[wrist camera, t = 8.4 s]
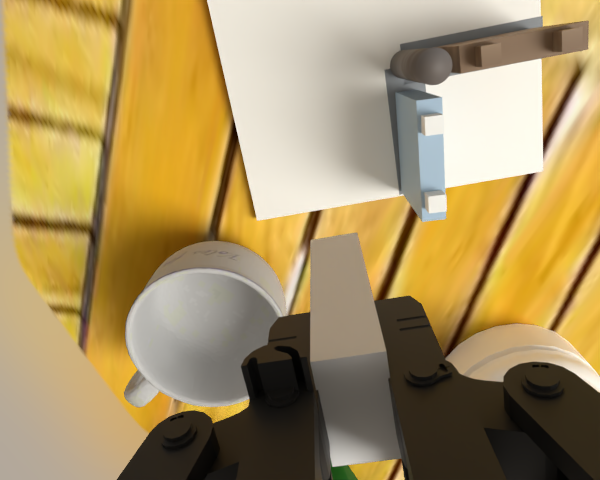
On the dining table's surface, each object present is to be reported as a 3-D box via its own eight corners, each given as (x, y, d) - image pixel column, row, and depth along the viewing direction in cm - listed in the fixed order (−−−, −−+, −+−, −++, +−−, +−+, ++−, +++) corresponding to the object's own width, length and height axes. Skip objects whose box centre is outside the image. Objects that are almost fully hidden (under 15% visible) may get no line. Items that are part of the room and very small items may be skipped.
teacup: (243, 201, 37) (226, 238, 30) (317, 310, 40) (319, 369, 33) (101, 288, 40) (52, 342, 32) (180, 384, 43) (153, 453, 35)
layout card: (205, -13, 32) (203, -14, 31) (536, -83, 30) (540, -86, 30) (257, 218, 37) (257, 220, 37) (540, 169, 36) (544, 171, 35)
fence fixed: (388, 52, 33) (414, 51, 25) (529, 25, 32) (604, 13, 24) (391, 80, 33) (418, 88, 25) (530, 54, 32) (603, 53, 24)
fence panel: (401, 191, 36) (426, 227, 28) (394, 92, 33) (420, 102, 26) (420, 189, 36) (450, 224, 28) (415, 89, 33) (447, 98, 26)
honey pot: (461, 308, 40) (573, 492, 23) (609, 340, 41) (823, 541, 24) (413, 432, 44) (478, 662, 27) (548, 458, 45) (691, 698, 28)
